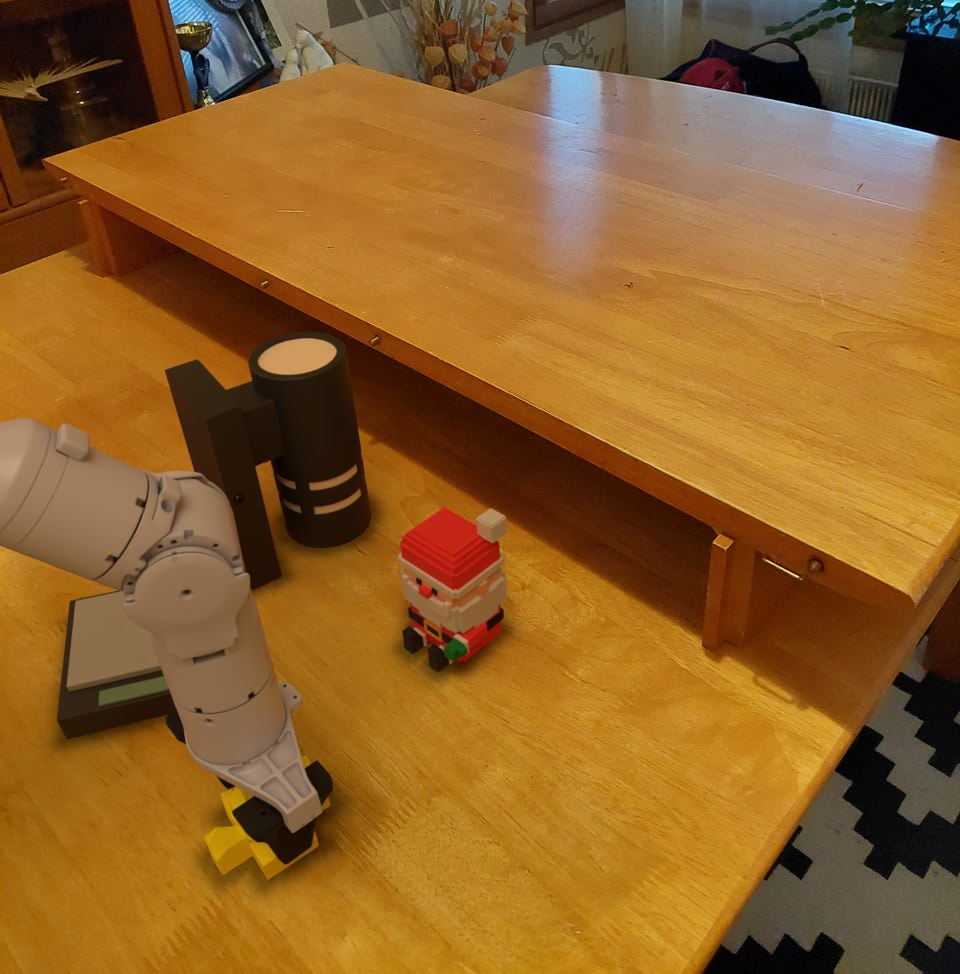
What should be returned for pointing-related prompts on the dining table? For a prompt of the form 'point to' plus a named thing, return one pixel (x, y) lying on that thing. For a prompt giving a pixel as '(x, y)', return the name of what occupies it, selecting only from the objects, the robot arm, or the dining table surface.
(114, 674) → the scale
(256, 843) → the yellow angular block
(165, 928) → the dining table surface
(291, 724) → the robot arm
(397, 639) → the dining table surface
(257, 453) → the light fixture
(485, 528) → the figurine
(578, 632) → the dining table surface
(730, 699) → the dining table surface
